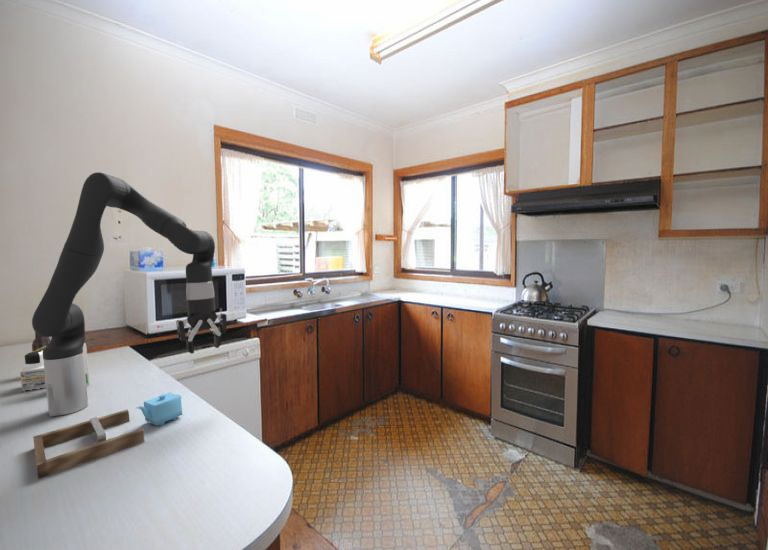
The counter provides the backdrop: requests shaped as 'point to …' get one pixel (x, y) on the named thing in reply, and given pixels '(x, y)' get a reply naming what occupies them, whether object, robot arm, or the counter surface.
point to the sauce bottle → (40, 342)
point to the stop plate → (97, 430)
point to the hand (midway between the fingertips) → (204, 350)
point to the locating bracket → (87, 452)
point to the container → (33, 371)
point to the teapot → (162, 408)
